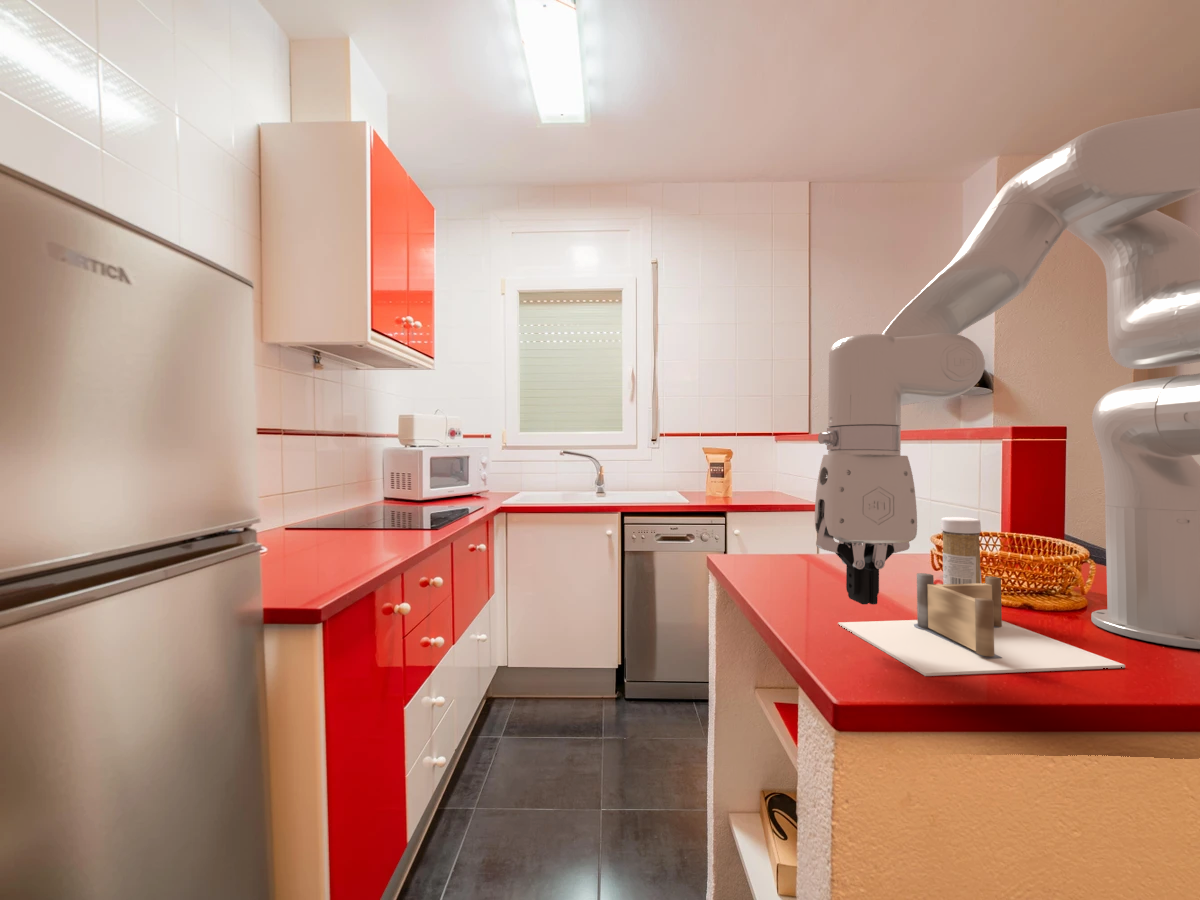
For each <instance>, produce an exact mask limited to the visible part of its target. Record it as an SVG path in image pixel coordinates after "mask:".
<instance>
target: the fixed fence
mask: <svg viewBox="0 0 1200 900" xmlns="http://www.w3.org/2000/svg"><path fill="white" fill-rule="evenodd" d="M984 580H985V583H983V582H981V583H973V584H943V583H941V584H939V583H938V584H937V583H934V575H933V574H931V573H925V572H924V573H922V572H921V573H920V572H918V573H916V604H917V605H916V606H917V607H916V609H917V619H916V620H918V627H921V628H925V629H930V628H928V587H927V584H936V585H939V586H942V587H945V588H948V589H950V590H953V591H956V592H959V593H961V594H964V595H967V596H970V597H972V598H987V599H991V600H993V610H994V626H998V627H1002V621H1003V620H1002V615H1003V614H1002V609H1003V608H1002V578H1001V577H998V576H991V575H989V576H985V579H984Z"/></svg>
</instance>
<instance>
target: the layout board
mask: <svg viewBox="0 0 1200 900" xmlns="http://www.w3.org/2000/svg"><path fill="white" fill-rule="evenodd" d="M838 624H839V625H840V627H841V626H842V627H841V628H843V629H844V628H845V630H846V629H847V630H846V631H848V632H849V631H850V633H851V632H852V633H851V634H853V635H854V636H856V637H858V638H860V639H862V640H863V641H865V642H866V643H868V644H870V645H872V646H873V647H874V648H877V649H878V650H880V651H881V652H883V653H885V654H887V655H889V656H890V657H892V658H894V659H895V660H898V661H899V662H901V663H903V664H904V665H906V666H907V667H910V669H912V670H914V671H916V672H918V673H920V674H921V675H923V676H924V677H932V676H933V677H935V676H936V677H937V676H956V675H957V676H959V675H962V676H963V675H983V674H984V675H985V674H1006V673H1007V674H1008V673H1009V674H1010V673H1026V672H1027V673H1029V672H1030V673H1031V672H1035V673H1036V672H1050V671H1051V672H1055V671H1057V672H1058V671H1078V670H1079V671H1082V670H1103V668H1105V670H1106V668H1108V669H1125V668H1126V664H1124V663H1120V662H1118V661H1116V660H1112V659H1110V658H1107V657H1104V656H1102V655H1099V654H1096V653H1093V652H1090V651H1087V650H1085V649H1082V648H1079V647H1077V646H1074V645H1071V644H1069V643H1065V642H1063V641H1060V640H1057V639H1054V638H1051V637H1049V636H1046V635H1043V634H1040V633H1037V632H1035V631H1032V630H1030V629H1027V628H1024V627H1021V626H1019V625H1015V624H1013V623H1010V622H1007V621H1005V620H1002V627H998V626H994V656H983V655H980V654H977V653H976V651H974V650H972V649H970V648H968V647H966V646H964V645H962V644H960V643H958V642H956V641H954V640H952V639H950V638H948V637H946V636H944V635H942V634H940V633H938V632H936V631H934V630H932V629H925V628H921V627H918V619H909V620H908V619H907V620H905V619H903V620H902V619H901V620H878V621H875V620H874V621H869V620H868V621H847V622H846V621H844V622H839V621H838V622H837V625H838ZM839 625H838V626H839ZM1121 667H1122V668H1121Z"/></svg>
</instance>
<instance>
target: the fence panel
mask: <svg viewBox="0 0 1200 900" xmlns="http://www.w3.org/2000/svg"><path fill="white" fill-rule="evenodd" d="M936 584H937V583H934V584H927V587H928V628H930V629H932V630H934V631H936V632H938V633H940V634H942V635H944V636H946V637H948V638H950V639H952V640H954V641H956V642H958V643H960V644H962V645H964V646H966V647H968V648H970V649H972V650H974V651H976V653H977V654H980V655H983V656H994V610H993V600H991V599H987V598H972V597H970V596H967V595H964V594H961V593H959V592H956V591H953V590H950V589H948V588H945V587H942V586H939V585H936Z"/></svg>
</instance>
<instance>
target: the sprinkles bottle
mask: <svg viewBox="0 0 1200 900" xmlns="http://www.w3.org/2000/svg"><path fill="white" fill-rule="evenodd" d="M981 528H982V527H981V520H980V519H979V518H973V517H966V516H945V517H942V518H940V529H941V531H942V532H941V534H942V573H943V575H942V577H943V578H942V579H943V580H942V581H943V583H942V584H973V583H982V570H981V550H980V549H981V548H980V545H981V544H980V535H981V534H980V533H981V532H982V529H981Z"/></svg>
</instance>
